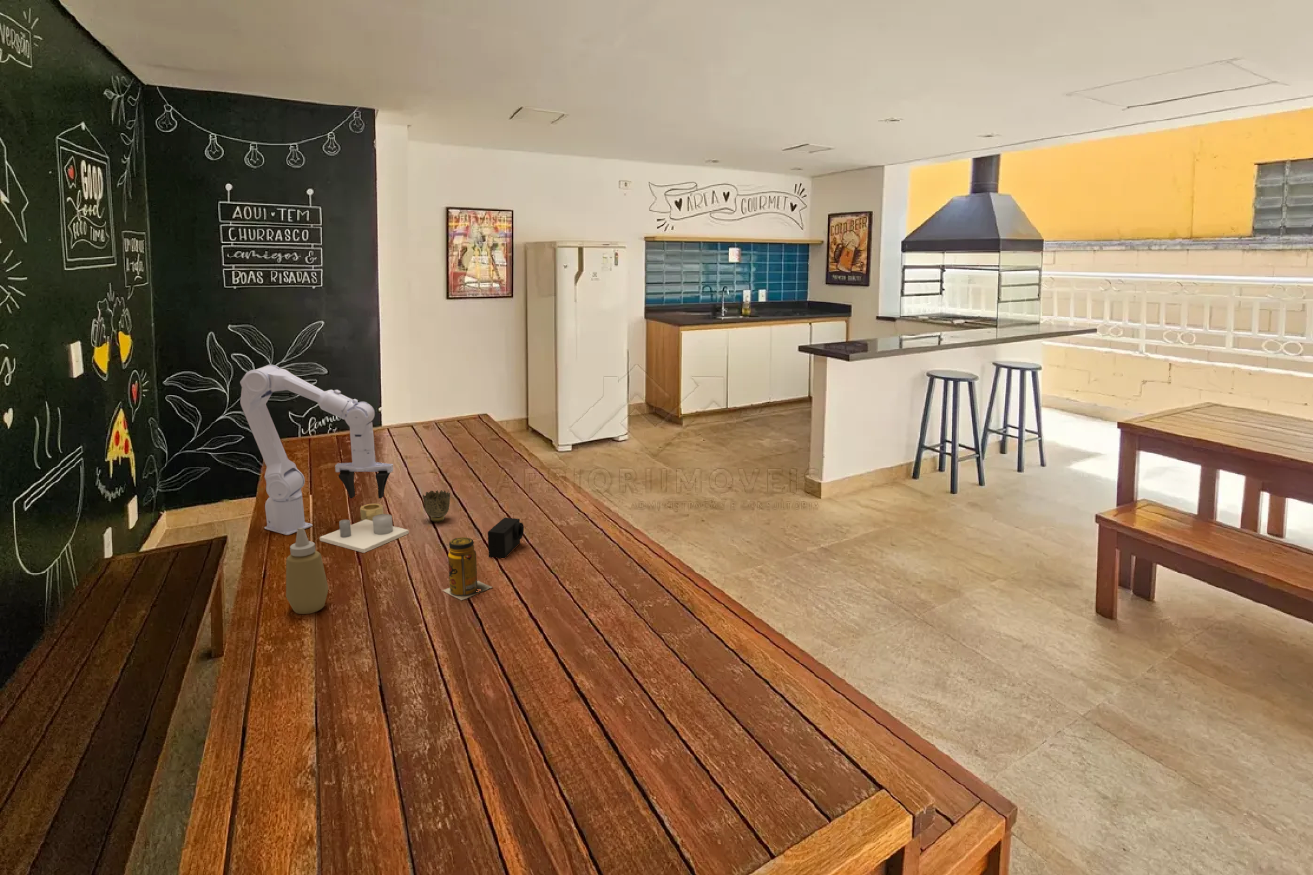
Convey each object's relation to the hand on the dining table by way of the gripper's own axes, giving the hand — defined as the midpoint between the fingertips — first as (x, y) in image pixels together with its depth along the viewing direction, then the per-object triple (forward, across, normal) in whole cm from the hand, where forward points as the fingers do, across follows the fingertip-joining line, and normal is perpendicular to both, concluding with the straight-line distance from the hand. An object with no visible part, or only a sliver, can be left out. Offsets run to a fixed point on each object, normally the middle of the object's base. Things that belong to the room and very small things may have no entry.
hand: (366, 497), depth 193 cm
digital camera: (+9, +40, -15) cm, 43 cm away
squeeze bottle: (+9, +3, -46) cm, 47 cm away
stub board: (+9, +1, -6) cm, 11 cm away
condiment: (+9, +34, -37) cm, 51 cm away
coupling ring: (+9, -2, +9) cm, 13 cm away
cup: (+9, +17, +6) cm, 20 cm away
